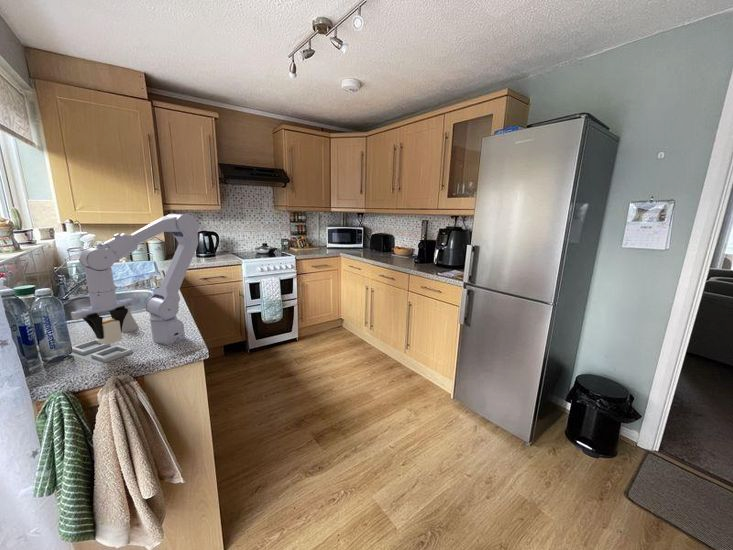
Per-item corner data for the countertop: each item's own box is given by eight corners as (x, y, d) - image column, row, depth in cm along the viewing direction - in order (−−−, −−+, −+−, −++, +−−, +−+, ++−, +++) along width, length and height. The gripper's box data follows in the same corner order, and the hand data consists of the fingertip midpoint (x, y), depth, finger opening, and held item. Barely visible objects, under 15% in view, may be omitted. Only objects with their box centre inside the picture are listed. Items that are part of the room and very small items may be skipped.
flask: (137, 327, 115) (134, 302, 113) (143, 332, 111) (140, 306, 109) (113, 333, 110) (109, 306, 108) (118, 338, 105) (114, 311, 103)
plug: (122, 339, 91) (118, 318, 89) (106, 345, 87) (103, 323, 86) (113, 337, 92) (110, 316, 91) (98, 342, 89) (94, 321, 87)
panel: (138, 354, 94) (137, 347, 94) (100, 369, 85) (99, 361, 85) (103, 344, 101) (102, 337, 100) (64, 357, 92) (63, 349, 91)
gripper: (121, 283, 95) (127, 324, 97) (61, 295, 81) (70, 342, 84) (136, 286, 92) (142, 328, 95) (76, 298, 79) (85, 347, 82)
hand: (109, 335), depth 89 cm, fingers closed on plug, 4 cm apart
